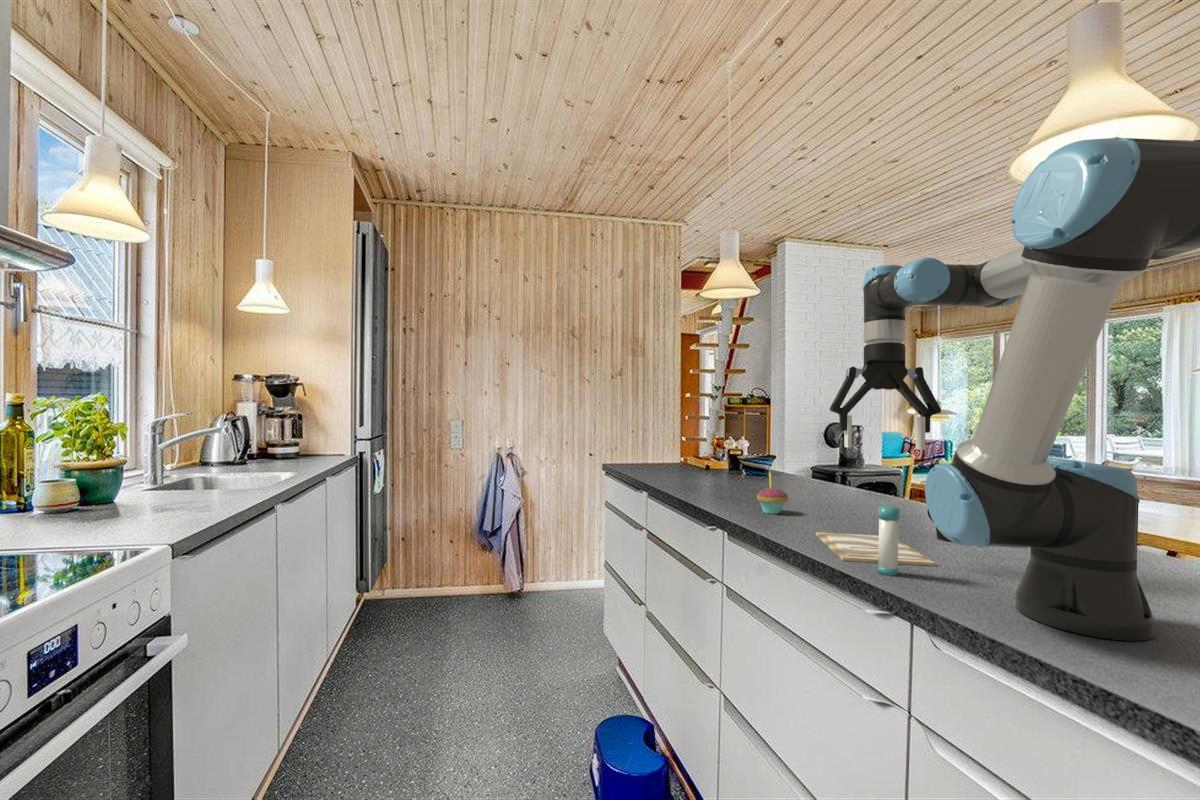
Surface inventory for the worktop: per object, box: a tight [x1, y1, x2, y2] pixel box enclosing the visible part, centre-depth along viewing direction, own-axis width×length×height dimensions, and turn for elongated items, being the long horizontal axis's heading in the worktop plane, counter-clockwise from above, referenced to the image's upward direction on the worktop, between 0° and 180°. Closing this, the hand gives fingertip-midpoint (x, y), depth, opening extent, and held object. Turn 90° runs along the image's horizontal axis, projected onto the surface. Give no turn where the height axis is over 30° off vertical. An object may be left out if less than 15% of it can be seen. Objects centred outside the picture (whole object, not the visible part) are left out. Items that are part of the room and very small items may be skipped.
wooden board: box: [815, 531, 936, 567], centre depth 118 cm, size 22×17×1 cm
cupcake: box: [756, 471, 789, 515], centre depth 156 cm, size 9×8×12 cm
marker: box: [877, 505, 900, 577], centre depth 100 cm, size 3×3×12 cm
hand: (883, 448), depth 110 cm, fingers open, 13 cm apart
